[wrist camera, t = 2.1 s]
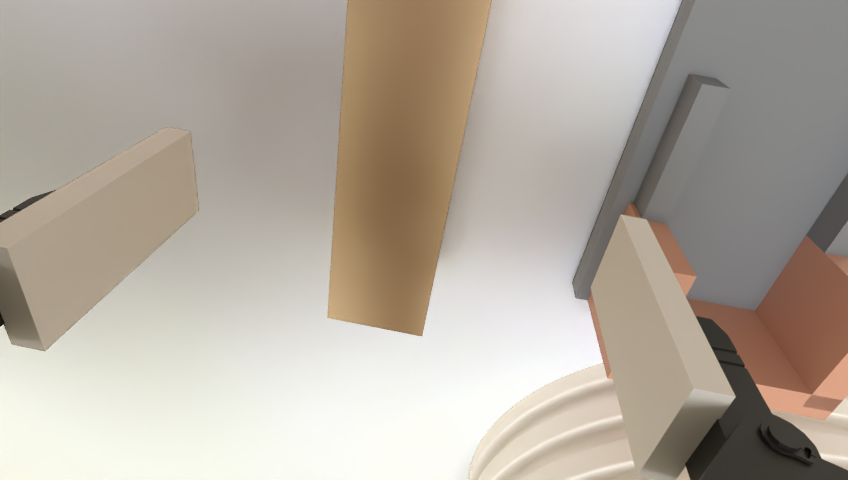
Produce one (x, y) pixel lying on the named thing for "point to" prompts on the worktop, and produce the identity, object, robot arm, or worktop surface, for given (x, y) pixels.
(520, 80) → the worktop surface
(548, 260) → the worktop surface
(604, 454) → the plate stack
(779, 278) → the rail
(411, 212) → the oak slat
